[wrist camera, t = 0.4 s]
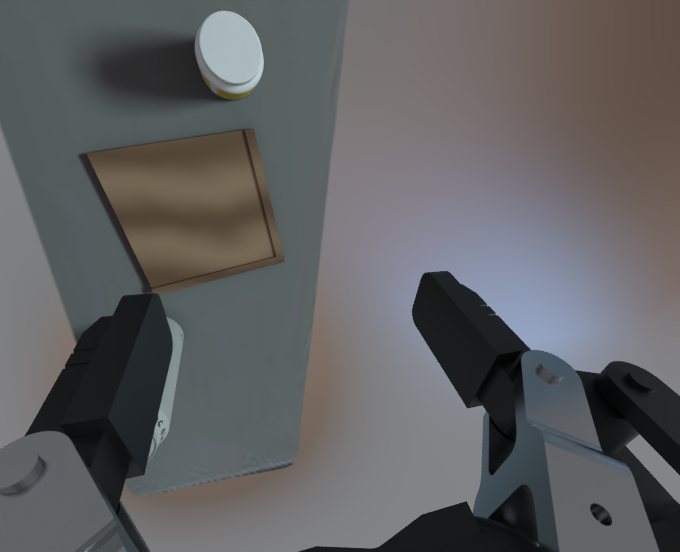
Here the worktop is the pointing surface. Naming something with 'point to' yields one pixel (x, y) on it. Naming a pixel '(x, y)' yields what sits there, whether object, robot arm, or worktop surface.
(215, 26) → the supplement bottle
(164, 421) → the energy drink can
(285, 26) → the worktop surface
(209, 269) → the walnut board
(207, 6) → the worktop surface
